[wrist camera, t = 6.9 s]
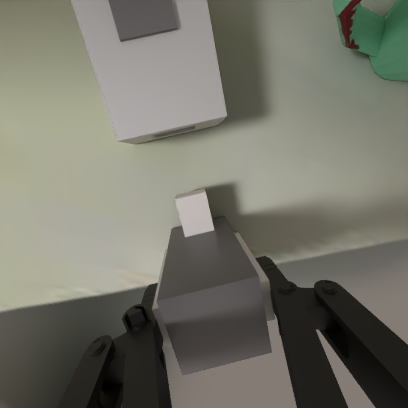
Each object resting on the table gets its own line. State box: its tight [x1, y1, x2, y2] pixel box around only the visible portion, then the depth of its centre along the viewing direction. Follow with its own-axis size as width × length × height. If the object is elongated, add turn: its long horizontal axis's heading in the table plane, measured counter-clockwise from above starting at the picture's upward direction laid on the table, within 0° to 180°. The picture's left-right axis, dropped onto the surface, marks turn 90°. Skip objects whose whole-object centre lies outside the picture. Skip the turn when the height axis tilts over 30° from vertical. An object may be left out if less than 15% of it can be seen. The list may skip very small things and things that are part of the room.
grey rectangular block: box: [156, 189, 272, 375], centre depth 14 cm, size 5×8×9 cm, turn 13°
